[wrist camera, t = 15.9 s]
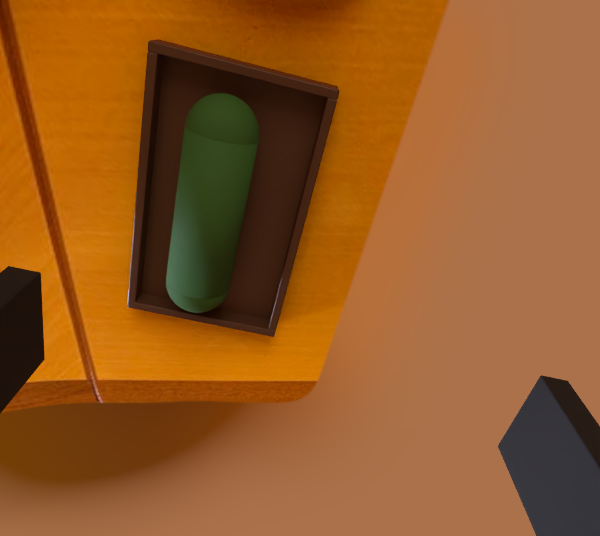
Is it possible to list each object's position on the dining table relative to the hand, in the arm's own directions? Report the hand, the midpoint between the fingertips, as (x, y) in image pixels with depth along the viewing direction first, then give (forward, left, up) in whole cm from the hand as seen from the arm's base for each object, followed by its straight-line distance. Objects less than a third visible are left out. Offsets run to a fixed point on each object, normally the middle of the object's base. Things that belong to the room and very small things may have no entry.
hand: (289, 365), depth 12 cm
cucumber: (+6, +3, -22) cm, 23 cm away
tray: (+6, +3, -23) cm, 24 cm away
